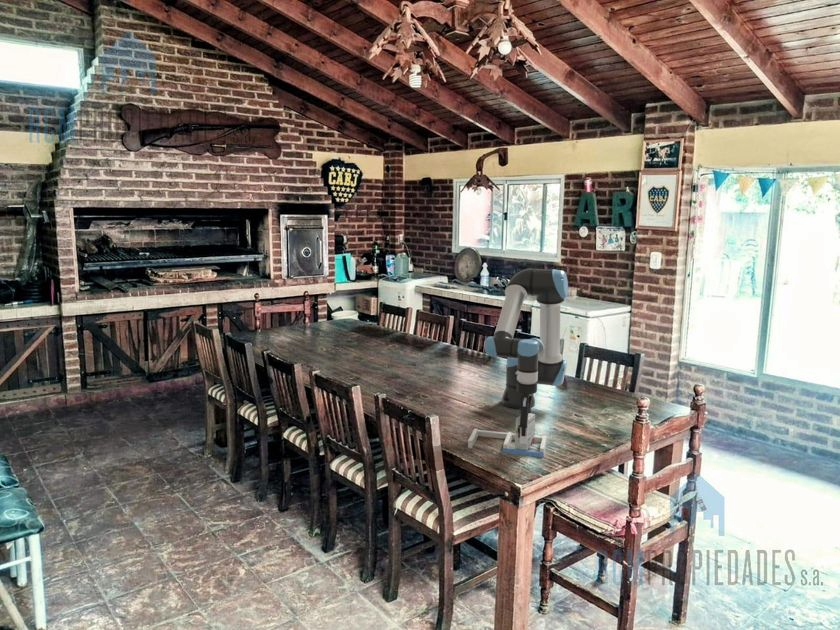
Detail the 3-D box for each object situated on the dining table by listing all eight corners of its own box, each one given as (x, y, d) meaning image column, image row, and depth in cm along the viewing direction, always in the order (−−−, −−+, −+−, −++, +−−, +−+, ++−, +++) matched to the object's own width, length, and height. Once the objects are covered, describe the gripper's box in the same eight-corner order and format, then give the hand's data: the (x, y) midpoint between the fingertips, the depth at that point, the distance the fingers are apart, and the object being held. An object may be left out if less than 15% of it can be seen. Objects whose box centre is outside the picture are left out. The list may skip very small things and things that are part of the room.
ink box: (522, 440, 247) (523, 411, 245) (534, 443, 245) (536, 413, 243) (514, 448, 240) (515, 418, 238) (526, 450, 238) (527, 420, 235)
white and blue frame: (475, 434, 258) (475, 427, 258) (546, 441, 251) (547, 434, 250) (467, 448, 244) (467, 441, 243) (543, 457, 236) (543, 449, 236)
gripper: (520, 372, 249) (518, 427, 253) (512, 389, 228) (511, 448, 232) (539, 374, 247) (537, 429, 251) (534, 391, 226) (531, 450, 230)
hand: (524, 438), depth 242 cm, fingers closed on ink box, 9 cm apart
